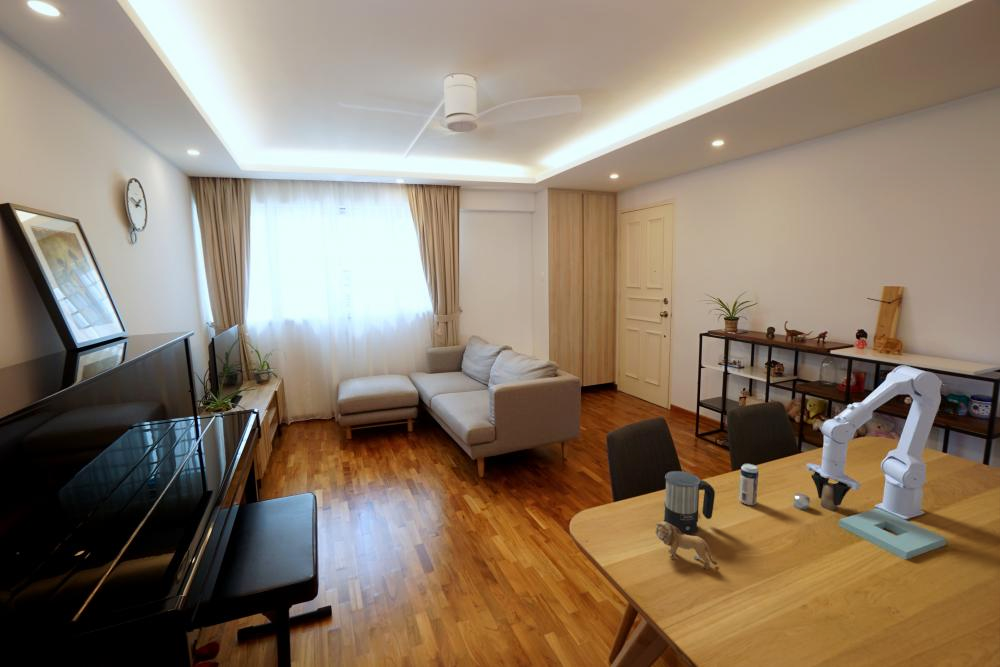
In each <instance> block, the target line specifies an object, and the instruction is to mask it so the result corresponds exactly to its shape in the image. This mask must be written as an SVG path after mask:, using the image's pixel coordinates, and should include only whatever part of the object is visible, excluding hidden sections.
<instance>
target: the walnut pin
mask: <svg viewBox="0 0 1000 667" xmlns="http://www.w3.org/2000/svg"><path fill="white" fill-rule="evenodd" d="M833 484H834V483H832V482H828V483H823V488H822V498H821V499H820V506H821V508H823V509H825V510H829V511H837V509H838V506H835V505H834V488H833Z"/></svg>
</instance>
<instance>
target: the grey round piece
mask: <svg viewBox="0 0 1000 667" xmlns="http://www.w3.org/2000/svg"><path fill="white" fill-rule="evenodd" d="M810 501H811V498H810V496H809V495H806V494H803V493H800V492H799V493H798V492H797V493H794V494H793V504H792V506H793V507H794V508H795V509H797V510H800V511H809V509H810Z"/></svg>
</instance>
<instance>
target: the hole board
mask: <svg viewBox="0 0 1000 667" xmlns="http://www.w3.org/2000/svg"><path fill="white" fill-rule="evenodd" d="M838 527H840V528H841V529H844V530H845V531H848V532H849V533H851V534H854V535H855V536H858V537H860V538H861V539H864V540H865V541H868V542H869V543H871V544H873V545H875V546H877V547H879V548H881V549H884V550H886V551H887V552H889V553H892V554H893V555H895V556H897V557H899V558H901V559H903V560H909V559H912V558H915V557H917V556H920V555H922V554H926V553H928V552H930V551H933V550H935V549H939V548H941V547H944V546H946V543H947V537H945V536H942V535H940V534H939V533H935V532H933V531H931V530H929V529H926V528H924V527H922V526H921V525H920V526H919V525H918V524H915V523H913V522H911V521H908V520H907V519H903V518H900V517H898V516H896V515H893V514H891V513H889V512H887V511H884V510H882V509H880V508H877V507H875V508H873V509H869V510H866V511H863V512H859V513H857V514H854V515H850V516H846V517H843V518H840V519H838ZM884 529H887V530H889V531H890V532H889V531H887V530H884ZM891 532H893V533H895V534H897V535H895V534H893V533H891Z"/></svg>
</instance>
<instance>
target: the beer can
mask: <svg viewBox="0 0 1000 667" xmlns="http://www.w3.org/2000/svg"><path fill="white" fill-rule="evenodd" d="M759 472H760V471H759V469H758V467H757V466H756V465H755V464H753V463H752V464H751V463H744V464H742V466H741V467H740V475H739V477H740V478H739V488H738V489H739V490H738V492H739V493H738V501H739V502H740V503H741V504H743V503H744V505H746V504H747V505H746V506H754V505H756V504H757V496H758V495H757V494H758V485H759V484H758V482H759Z"/></svg>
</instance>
